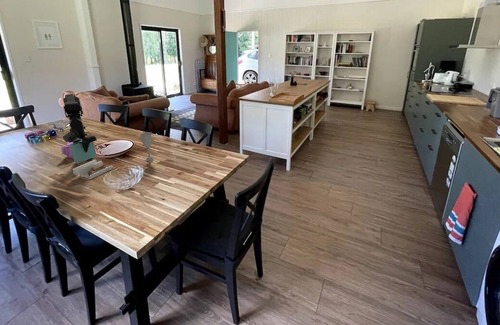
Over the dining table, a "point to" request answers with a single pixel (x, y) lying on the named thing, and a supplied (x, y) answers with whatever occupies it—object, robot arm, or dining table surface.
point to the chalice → (147, 143)
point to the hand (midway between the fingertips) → (84, 151)
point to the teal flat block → (82, 152)
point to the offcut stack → (96, 169)
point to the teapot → (67, 150)
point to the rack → (87, 167)
